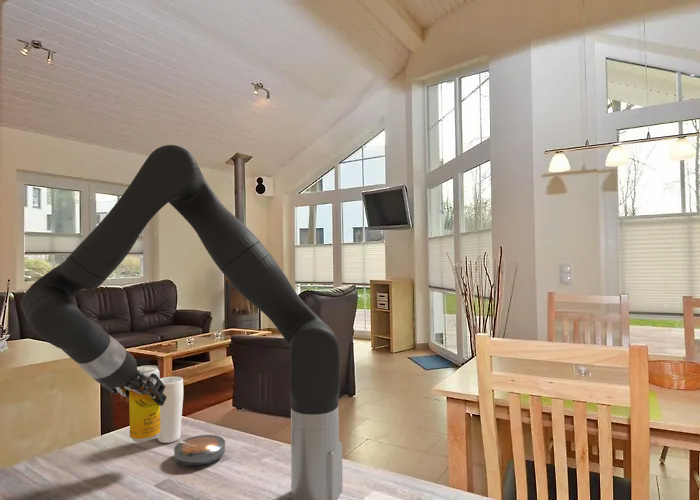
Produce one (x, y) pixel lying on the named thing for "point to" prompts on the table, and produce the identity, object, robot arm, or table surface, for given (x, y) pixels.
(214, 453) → the disc
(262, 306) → the robot arm
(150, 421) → the beer can
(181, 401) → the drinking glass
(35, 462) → the table surface
